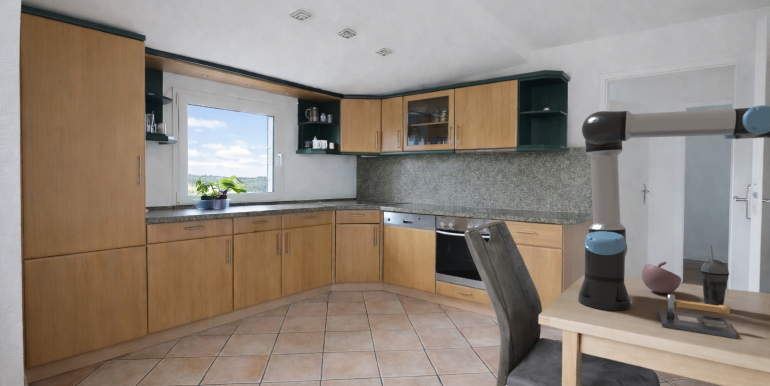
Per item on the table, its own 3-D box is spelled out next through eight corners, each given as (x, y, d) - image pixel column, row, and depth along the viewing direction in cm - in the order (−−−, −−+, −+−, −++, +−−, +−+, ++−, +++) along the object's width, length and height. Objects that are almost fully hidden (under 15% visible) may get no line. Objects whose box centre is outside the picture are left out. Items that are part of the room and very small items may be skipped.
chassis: (662, 326, 112) (662, 299, 112) (658, 313, 124) (659, 288, 123) (736, 338, 104) (737, 308, 104) (725, 323, 115) (726, 296, 115)
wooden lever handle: (676, 307, 115) (677, 301, 115) (675, 305, 117) (676, 299, 117) (730, 314, 109) (731, 308, 109) (728, 312, 111) (728, 305, 111)
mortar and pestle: (689, 296, 142) (690, 264, 142) (662, 298, 139) (662, 265, 139) (659, 287, 154) (659, 257, 153) (633, 289, 151) (633, 259, 150)
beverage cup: (733, 312, 125) (735, 248, 124) (707, 310, 126) (709, 247, 126) (719, 305, 132) (721, 244, 131) (694, 303, 134) (696, 244, 133)
